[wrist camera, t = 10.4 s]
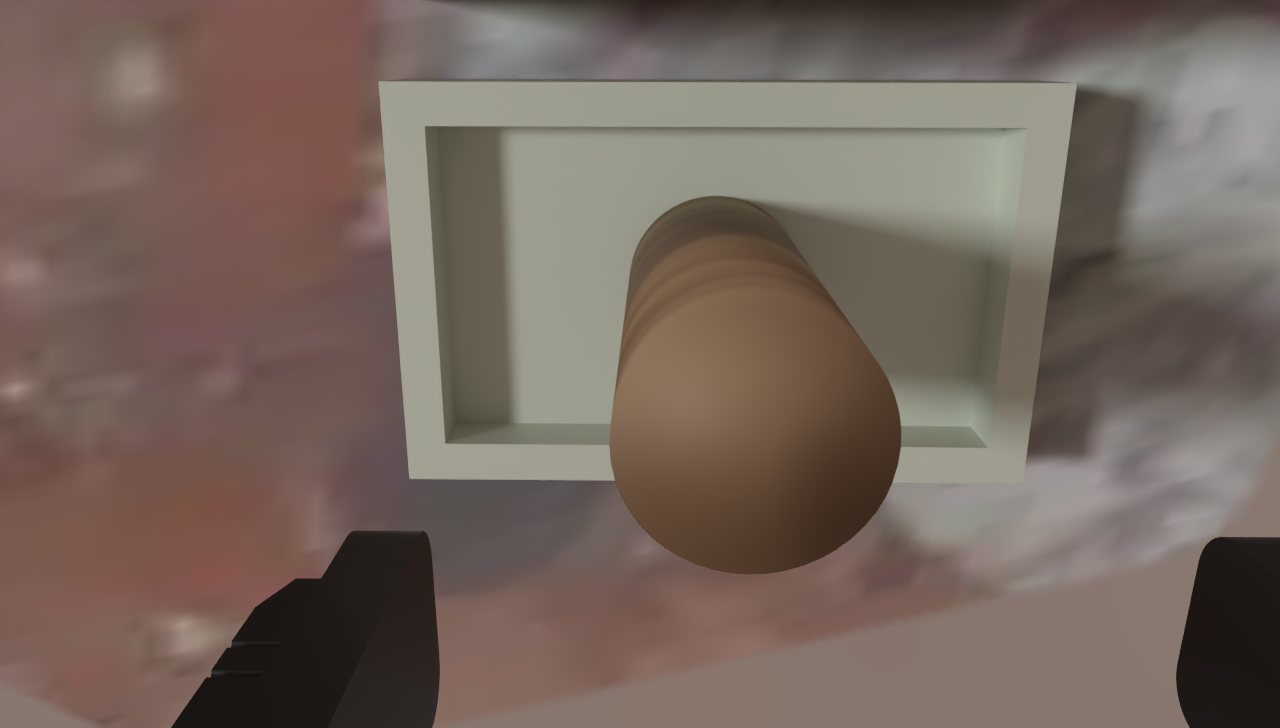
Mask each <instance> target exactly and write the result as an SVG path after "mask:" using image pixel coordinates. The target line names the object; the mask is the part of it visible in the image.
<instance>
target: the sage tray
mask: <svg viewBox="0 0 1280 728" xmlns="http://www.w3.org/2000/svg"><path fill="white" fill-rule="evenodd" d="M1076 87H1077V83H1066V82H1051V81H1023V80H628V79H399V80H388V81H379V93H380V106H381V119H382V132H383V145H384V158H385V170H386V183H387V196H388V209H389V222H390V235H391V248H392V261H393V273H394V286H395V299H396V312H397V325H398V338H399V351H400V363H401V376H402V389H403V402H404V415H405V428H406V441H407V453H408V466H409V479H492V480H615V479H614V474H613V470H612V466H611V460H610V447H609V441H610V426H611V418H612V410H613V402H614V394H615V386H616V379H617V371H618V363H619V355H620V347H621V339H622V331H623V323H624V316H625V308H626V300H627V292H628V284H629V276H630V269H631V264H632V259H633V256H634V253H635V250H636V248H637V246H638V244H639V242H640V240H641V238H642V236H643V235H644V233H645V232H646V231H647V229H648V228H649V227H650V226H651V225H652V223H653V222H654V221H655V220H656V219H658V218H659V217H660V216H661V215H662V214H663V213H665V212H666V211H668V210H669V209H671V208H672V207H674V206H677V205H679V204H681V203H683V202H686V201H688V200H691V199H695V198H700V197H706V196H726V197H732V198H737V199H741V200H743V201H746V202H749V203H751V204H753V205H755V206H757V207H759V208H761V209H762V210H764V211H765V212H767V213H768V214H769V215H770V216H771V217H773V218H774V219H775V220H776V221H777V222H778V223H779V225H780V226H781V227H782V228H783V229H784V231H785V232H786V234H787V235H788V236H789V238H790V239H791V241H792V242H793V243H794V245H795V246H796V248H797V249H798V250H799V252H800V253H801V255H802V256H803V258H804V259H805V260H806V262H807V263H808V265H809V266H810V267H811V269H812V270H813V272H814V273H815V274H816V276H817V277H818V279H819V280H820V281H821V283H822V284H823V286H824V287H825V289H826V290H827V291H828V293H829V294H830V296H831V297H832V298H833V300H834V301H835V303H836V304H837V305H838V307H839V308H840V310H841V311H842V312H843V314H844V315H845V317H846V318H847V320H848V321H849V322H850V324H851V325H852V327H853V328H854V329H855V331H856V332H857V334H858V335H859V336H860V338H861V339H862V341H863V342H864V343H865V345H866V346H867V348H868V349H869V351H870V352H871V353H872V355H873V356H874V358H875V359H876V360H877V362H878V363H879V365H880V367H881V368H882V370H883V371H884V373H885V375H886V376H887V378H888V380H889V383H890V385H891V387H892V389H893V392H894V394H895V398H896V401H897V405H898V409H899V414H900V422H901V450H900V456H899V462H898V466H897V470H896V473H895V476H894V479H893V482H892V483H997V484H1023V478H1024V471H1025V464H1026V456H1027V449H1028V441H1029V434H1030V427H1031V419H1032V412H1033V405H1034V397H1035V390H1036V382H1037V375H1038V368H1039V360H1040V353H1041V345H1042V338H1043V331H1044V323H1045V316H1046V309H1047V301H1048V294H1049V286H1050V279H1051V272H1052V264H1053V257H1054V249H1055V242H1056V235H1057V227H1058V220H1059V213H1060V205H1061V198H1062V190H1063V183H1064V176H1065V168H1066V161H1067V154H1068V146H1069V139H1070V131H1071V124H1072V117H1073V109H1074V102H1075V94H1076Z"/></svg>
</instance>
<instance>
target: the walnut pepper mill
mask: <svg viewBox="0 0 1280 728" xmlns="http://www.w3.org/2000/svg"><path fill="white" fill-rule="evenodd" d="M609 447H610V460H611V466H612V470H613V474H614V479H615V482H616V484H617V487H618V489H619V492H620V495H621V497H622V499H623V500H624V502H625V504H626V506H627V508H628V510H629V511H630V512H631V514H632V515H633V517H634V518H635V519H636V521H637V522H638V523H639V525H640V526H641V527H642V528H643V529H644V530H645V531H646V532H647V533H648V534H649V535H650V536H651V537H652V538H653V539H655V540H656V541H657V542H658V543H660V544H661V545H662V546H663V547H665V548H666V549H668V550H669V551H671V552H673V553H674V554H676V555H678V556H679V557H681V558H683V559H686V560H688V561H690V562H692V563H695V564H697V565H700V566H703V567H706V568H710V569H713V570H718V571H723V572H728V573H738V574H766V573H773V572H779V571H785V570H789V569H793V568H796V567H800V566H803V565H806V564H808V563H810V562H813V561H815V560H818V559H820V558H822V557H824V556H826V555H827V554H829V553H831V552H833V551H834V550H836V549H838V548H839V547H840V546H842V545H843V544H845V543H846V542H847V541H849V540H850V539H851V538H852V537H853V536H855V535H856V534H857V533H858V532H859V531H860V530H861V529H862V528H863V527H864V526H865V525H866V524H867V522H868V521H869V520H870V519H871V518H872V516H873V515H874V514H875V513H876V511H877V510H878V508H879V507H880V505H881V504H882V502H883V500H884V499H885V497H886V495H887V493H888V491H889V489H890V486H891V484H892V482H893V479H894V476H895V473H896V470H897V466H898V462H899V456H900V450H901V422H900V414H899V409H898V405H897V401H896V398H895V394H894V392H893V389H892V387H891V385H890V383H889V380H888V378H887V376H886V375H885V373H884V371H883V370H882V368H881V367H880V365H879V363H878V362H877V360H876V359H875V358H874V356H873V355H872V353H871V352H870V351H869V349H868V348H867V346H866V345H865V343H864V342H863V341H862V339H861V338H860V336H859V335H858V334H857V332H856V331H855V329H854V328H853V327H852V325H851V324H850V322H849V321H848V320H847V318H846V317H845V315H844V314H843V312H842V311H841V310H840V308H839V307H838V305H837V304H836V303H835V301H834V300H833V298H832V297H831V296H830V294H829V293H828V291H827V290H826V289H825V287H824V286H823V284H822V283H821V281H820V280H819V279H818V277H817V276H816V274H815V273H814V272H813V270H812V269H811V267H810V266H809V265H808V263H807V262H806V260H805V259H804V258H803V256H802V255H801V253H800V252H799V250H798V249H797V248H796V246H795V245H794V243H793V242H792V241H791V239H790V238H789V236H788V235H787V234H786V232H785V231H784V229H783V228H782V227H781V226H780V225H779V223H778V222H777V221H776V220H775V219H774V218H773V217H771V216H770V215H769V214H768V213H767V212H765V211H764V210H762V209H761V208H759V207H757V206H755V205H753V204H751V203H749V202H746V201H743V200H741V199H737V198H732V197H726V196H706V197H700V198H695V199H691V200H688V201H686V202H683V203H681V204H679V205H677V206H674V207H672V208H671V209H669V210H668V211H666V212H665V213H663V214H662V215H661V216H660V217H659V218H658V219H656V220H655V221H654V222H653V223H652V225H651V226H650V227H649V228H648V229H647V231H646V232H645V233H644V235H643V236H642V238H641V240H640V242H639V244H638V246H637V248H636V250H635V253H634V256H633V259H632V264H631V269H630V276H629V284H628V292H627V300H626V308H625V316H624V323H623V331H622V339H621V347H620V355H619V363H618V371H617V379H616V386H615V394H614V402H613V410H612V418H611V426H610V441H609Z"/></svg>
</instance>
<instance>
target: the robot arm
mask: <svg viewBox="0 0 1280 728" xmlns="http://www.w3.org/2000/svg"><path fill="white" fill-rule="evenodd" d="M439 677H440V662H439V647H438V634H437V621H436V607H435V594H434V581H433V567H432V555H431V547H430V542H429V538H428V536H427V534H426V532H424V531H352V532H351V533H349V535H348V536H347V538H346V539H345V541H344V542H343V544H342V546H341V547H340V549H339V551H338V552H337V554H336V555H335V557H334V559H333V560H332V562H331V564H330V565H329V567H328V569H327V570H326V572H325V573H324V575H323V577H322V578H321V579H295V580H293V581H292V582H291V583H289V584H288V585H286V586H285V587H283V588H282V589H281V590H279V591H278V592H276V593H275V594H273V595H272V596H271V597H269V598H268V599H266V600H265V601H264V602H262V603H261V604H259V605H258V606H256V607H255V609H254V610H253V611H252V613H251V614H250V616H249V617H248V619H247V620H246V621H245V623H244V624H243V626H242V627H241V629H240V630H239V631H238V633H237V634H236V636H235V637H234V639H233V640H232V646H231V648H227V649H226V650H225V651H224V653H223V654H222V656H221V657H220V659H219V660H218V661H217V663H216V664H215V666H214V667H213V669H212V674H211V677H210V678H208V677H206V679H205V680H204V681H203V683H202V684H201V686H200V687H199V689H198V690H197V691H196V693H195V694H194V696H193V697H192V699H191V700H190V701H189V703H188V704H187V706H186V707H185V709H184V710H183V711H182V713H181V714H180V716H179V717H178V719H177V720H176V721H175V723H174V724H173V726H172V727H171V728H432V726H433V723H434V719H435V714H436V708H437V702H438V693H439ZM1176 682H1177V692H1178V697H1179V702H1180V706H1181V709H1182V712H1183V714H1184V717H1185V719H1186V721H1187V723H1188V725H1189V727H1190V728H1280V538H1279V537H1218V538H1215V539H1213V540H1211V541H1210V542H1209V543H1208V544H1207V545H1206V546H1205V548H1204V549H1203V551H1202V554H1201V556H1200V559H1199V563H1198V568H1197V573H1196V577H1195V582H1194V587H1193V592H1192V596H1191V601H1190V607H1189V611H1188V616H1187V621H1186V625H1185V630H1184V635H1183V640H1182V645H1181V649H1180V654H1179V660H1178V664H1177V672H1176Z"/></svg>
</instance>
